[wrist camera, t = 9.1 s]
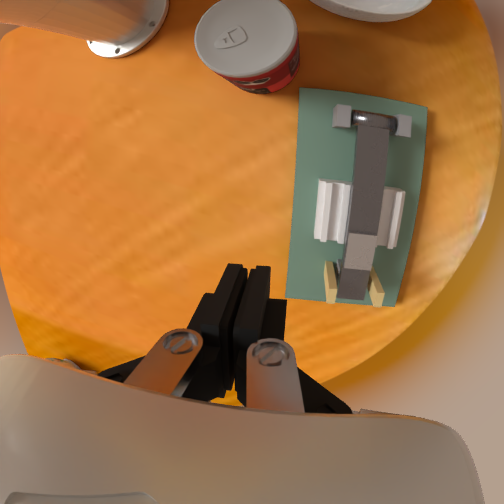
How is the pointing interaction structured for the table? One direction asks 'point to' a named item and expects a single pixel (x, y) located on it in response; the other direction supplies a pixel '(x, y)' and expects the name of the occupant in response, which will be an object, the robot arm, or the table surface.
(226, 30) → the canned food
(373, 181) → the grey hinged clamp lever
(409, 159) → the clamp board
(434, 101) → the table surface
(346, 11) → the cereal bowl
